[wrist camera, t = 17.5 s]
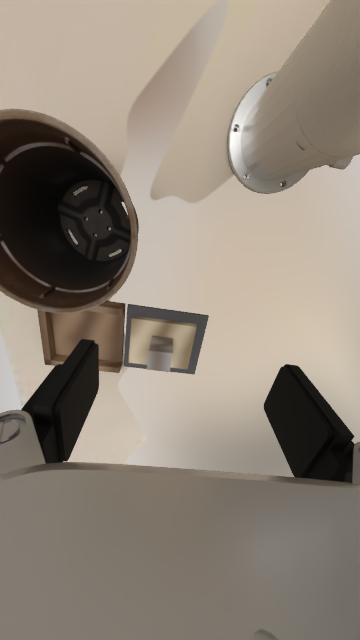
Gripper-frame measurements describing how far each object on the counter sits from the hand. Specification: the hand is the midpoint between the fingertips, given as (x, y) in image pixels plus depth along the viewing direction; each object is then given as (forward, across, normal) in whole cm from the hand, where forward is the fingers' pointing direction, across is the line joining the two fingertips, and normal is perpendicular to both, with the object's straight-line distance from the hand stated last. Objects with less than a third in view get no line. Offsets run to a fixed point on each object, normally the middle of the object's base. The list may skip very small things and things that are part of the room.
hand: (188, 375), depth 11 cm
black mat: (+28, 0, +16) cm, 33 cm away
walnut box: (+28, +15, +16) cm, 36 cm away
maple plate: (+28, +1, +16) cm, 32 cm away
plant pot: (+28, +13, -4) cm, 32 cm away
